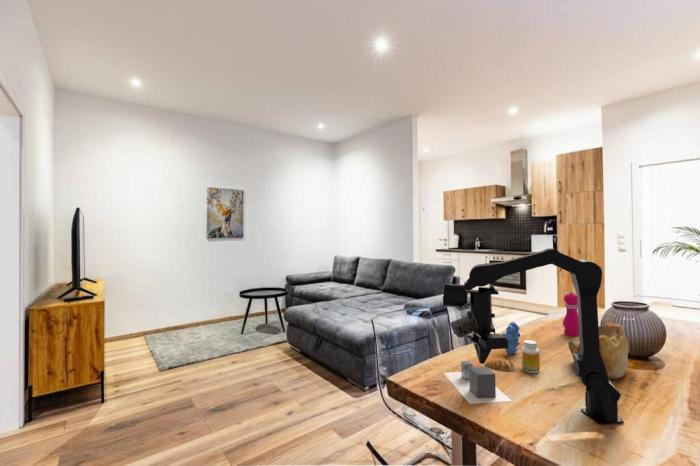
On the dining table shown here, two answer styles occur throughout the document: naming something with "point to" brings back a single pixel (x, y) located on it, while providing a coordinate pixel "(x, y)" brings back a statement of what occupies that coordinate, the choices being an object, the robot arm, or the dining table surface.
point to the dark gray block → (482, 382)
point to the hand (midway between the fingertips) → (481, 363)
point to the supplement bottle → (530, 357)
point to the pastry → (501, 365)
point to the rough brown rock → (609, 349)
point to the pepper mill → (571, 315)
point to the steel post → (465, 369)
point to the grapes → (512, 337)
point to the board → (464, 389)
